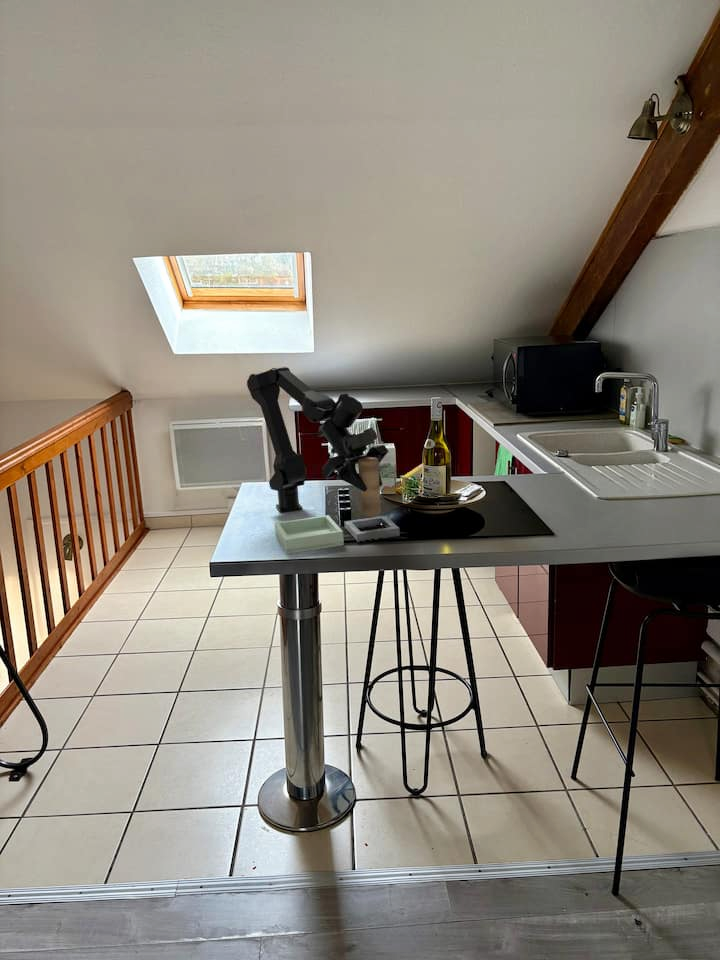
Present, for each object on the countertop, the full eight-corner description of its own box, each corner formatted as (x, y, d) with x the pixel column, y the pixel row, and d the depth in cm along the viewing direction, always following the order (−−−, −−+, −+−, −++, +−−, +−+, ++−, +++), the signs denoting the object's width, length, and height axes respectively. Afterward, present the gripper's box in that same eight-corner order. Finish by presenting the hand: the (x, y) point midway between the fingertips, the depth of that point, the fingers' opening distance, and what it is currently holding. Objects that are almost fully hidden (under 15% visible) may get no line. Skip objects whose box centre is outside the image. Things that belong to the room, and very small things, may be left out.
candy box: (408, 505, 207) (407, 477, 205) (401, 505, 208) (400, 476, 206) (428, 490, 221) (427, 463, 219) (421, 489, 222) (421, 462, 220)
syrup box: (395, 489, 223) (393, 442, 220) (397, 495, 218) (395, 446, 214) (376, 490, 223) (374, 443, 219) (377, 496, 217) (375, 447, 214)
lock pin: (358, 512, 187) (355, 458, 183) (377, 510, 188) (374, 456, 185) (364, 518, 182) (361, 463, 179) (383, 515, 184) (381, 460, 180)
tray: (275, 535, 188) (274, 522, 187) (329, 527, 192) (328, 515, 191) (286, 553, 175) (285, 539, 174) (343, 545, 179) (342, 531, 178)
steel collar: (344, 528, 190) (344, 521, 190) (385, 522, 193) (385, 515, 193) (357, 542, 180) (356, 534, 180) (399, 535, 183) (399, 528, 183)
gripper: (326, 425, 176) (361, 477, 171) (381, 413, 188) (415, 461, 183) (307, 453, 183) (340, 504, 179) (361, 439, 196) (393, 486, 191)
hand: (373, 488), depth 183 cm, fingers closed on lock pin, 5 cm apart
